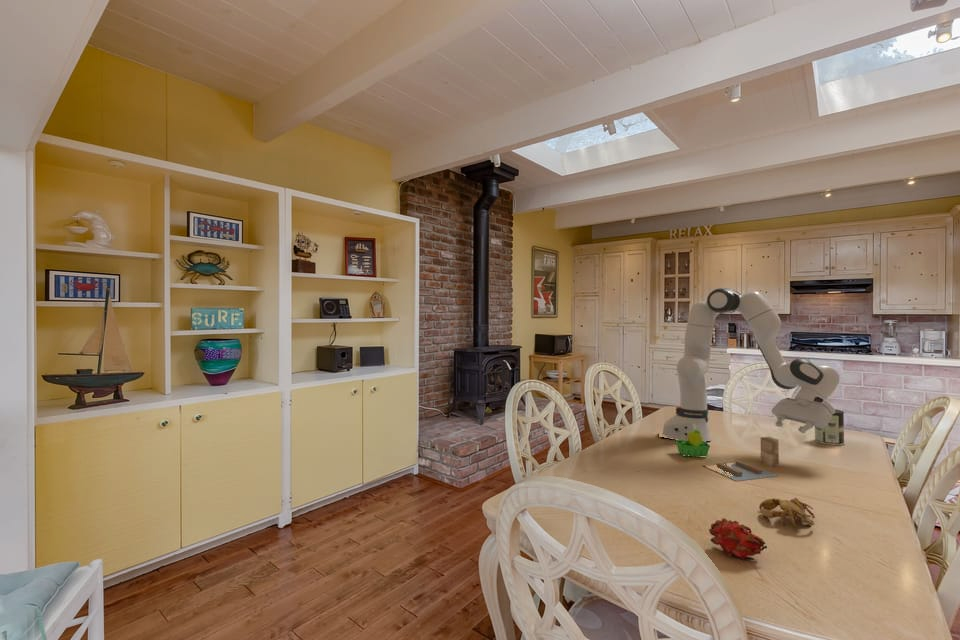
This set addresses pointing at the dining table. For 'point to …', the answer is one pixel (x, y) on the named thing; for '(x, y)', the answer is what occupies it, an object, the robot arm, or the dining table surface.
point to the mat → (744, 471)
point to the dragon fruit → (736, 539)
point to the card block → (769, 451)
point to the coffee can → (832, 430)
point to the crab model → (786, 510)
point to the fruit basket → (693, 445)
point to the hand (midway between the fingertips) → (789, 428)
